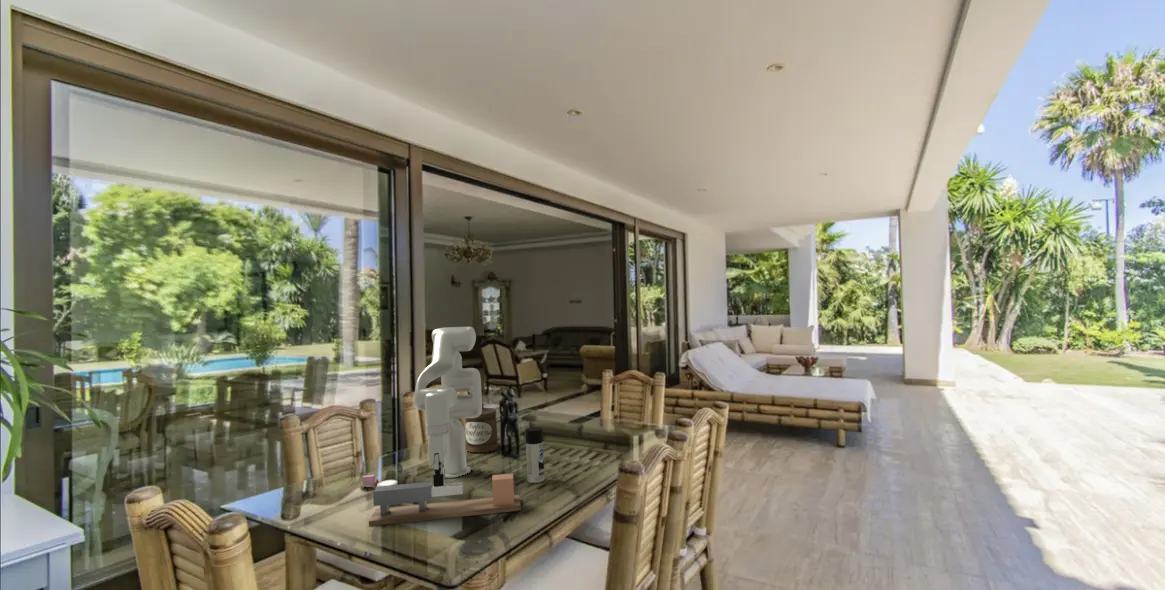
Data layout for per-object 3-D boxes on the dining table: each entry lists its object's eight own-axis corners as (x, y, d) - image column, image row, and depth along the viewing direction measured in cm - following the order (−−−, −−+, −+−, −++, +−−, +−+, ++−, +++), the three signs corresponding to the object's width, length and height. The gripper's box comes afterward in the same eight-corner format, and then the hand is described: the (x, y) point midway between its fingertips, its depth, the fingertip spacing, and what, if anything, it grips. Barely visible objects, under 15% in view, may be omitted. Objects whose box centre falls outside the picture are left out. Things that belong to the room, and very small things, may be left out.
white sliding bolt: (380, 498, 171) (379, 471, 171) (463, 490, 176) (462, 463, 176) (377, 502, 167) (376, 475, 167) (462, 494, 172) (461, 467, 172)
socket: (493, 500, 178) (492, 475, 178) (513, 497, 179) (512, 473, 179) (493, 505, 173) (492, 480, 173) (514, 503, 174) (513, 478, 174)
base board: (376, 513, 174) (376, 508, 174) (519, 499, 182) (519, 494, 182) (368, 526, 164) (368, 521, 164) (520, 510, 172) (520, 505, 172)
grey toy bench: (377, 511, 171) (376, 486, 171) (433, 506, 174) (432, 481, 174) (373, 517, 167) (373, 491, 167) (431, 511, 170) (430, 486, 170)
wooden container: (461, 453, 239) (459, 406, 239) (473, 444, 254) (471, 399, 254) (491, 453, 237) (489, 405, 237) (501, 444, 251) (500, 399, 251)
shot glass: (378, 507, 178) (378, 487, 178) (376, 501, 184) (375, 481, 184) (399, 503, 182) (398, 483, 182) (396, 497, 188) (396, 478, 188)
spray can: (541, 484, 196) (539, 431, 196) (524, 483, 197) (522, 430, 197) (546, 477, 202) (544, 426, 202) (530, 477, 203) (528, 426, 204)
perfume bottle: (356, 494, 193) (356, 481, 193) (363, 483, 205) (363, 471, 205) (390, 490, 196) (390, 478, 196) (395, 479, 208) (394, 468, 208)
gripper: (429, 423, 180) (431, 476, 180) (422, 436, 164) (424, 494, 164) (451, 422, 181) (453, 474, 181) (446, 434, 165) (448, 491, 165)
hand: (439, 483), depth 172 cm, fingers closed on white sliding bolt, 4 cm apart
